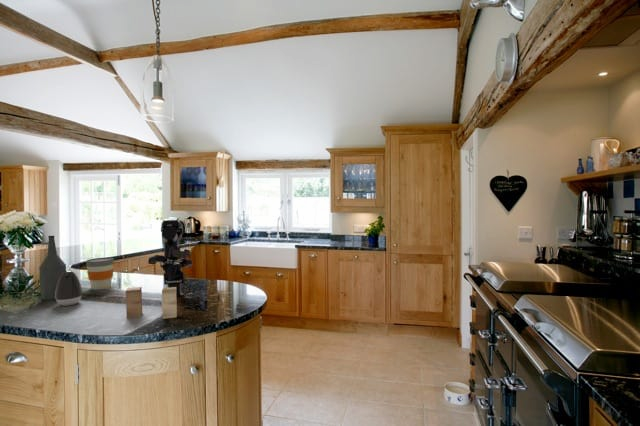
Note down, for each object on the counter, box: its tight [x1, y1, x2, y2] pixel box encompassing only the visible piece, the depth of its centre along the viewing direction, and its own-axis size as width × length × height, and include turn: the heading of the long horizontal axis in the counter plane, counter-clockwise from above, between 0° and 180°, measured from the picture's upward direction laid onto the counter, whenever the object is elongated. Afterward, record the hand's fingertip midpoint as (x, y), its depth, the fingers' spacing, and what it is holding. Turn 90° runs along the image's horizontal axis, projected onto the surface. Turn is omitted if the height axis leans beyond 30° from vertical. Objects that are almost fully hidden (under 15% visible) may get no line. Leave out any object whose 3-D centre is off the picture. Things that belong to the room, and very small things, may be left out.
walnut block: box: [125, 286, 143, 319], centre depth 145 cm, size 5×5×11 cm
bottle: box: [38, 235, 67, 301], centre depth 172 cm, size 10×10×30 cm
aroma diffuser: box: [54, 270, 84, 307], centre depth 161 cm, size 10×10×15 cm
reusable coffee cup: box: [86, 257, 115, 290], centre depth 190 cm, size 13×13×15 cm
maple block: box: [161, 287, 178, 320], centre depth 144 cm, size 5×5×11 cm
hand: (171, 280), depth 155 cm, fingers closed
